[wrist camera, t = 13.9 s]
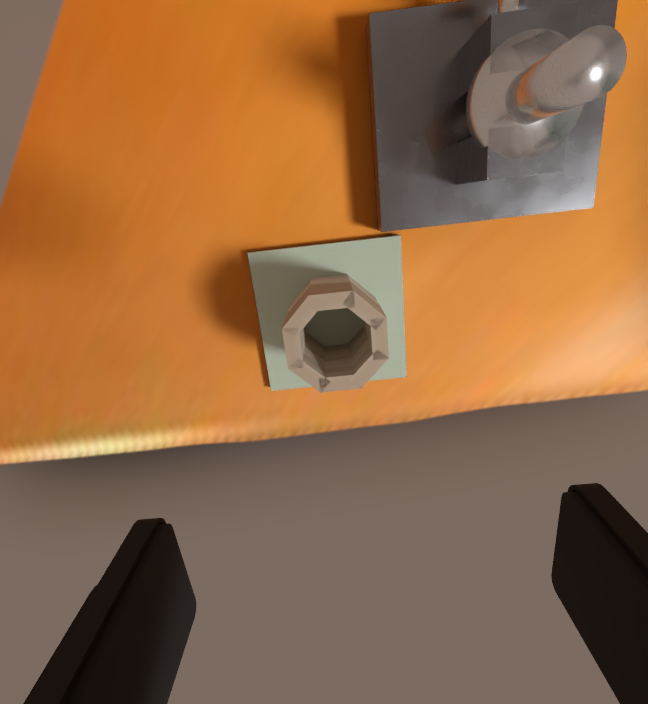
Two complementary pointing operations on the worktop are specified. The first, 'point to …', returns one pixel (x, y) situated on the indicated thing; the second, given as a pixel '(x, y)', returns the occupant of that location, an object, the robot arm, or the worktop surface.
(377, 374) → the mat
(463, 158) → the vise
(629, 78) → the worktop surface
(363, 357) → the hollow octagonal tube
